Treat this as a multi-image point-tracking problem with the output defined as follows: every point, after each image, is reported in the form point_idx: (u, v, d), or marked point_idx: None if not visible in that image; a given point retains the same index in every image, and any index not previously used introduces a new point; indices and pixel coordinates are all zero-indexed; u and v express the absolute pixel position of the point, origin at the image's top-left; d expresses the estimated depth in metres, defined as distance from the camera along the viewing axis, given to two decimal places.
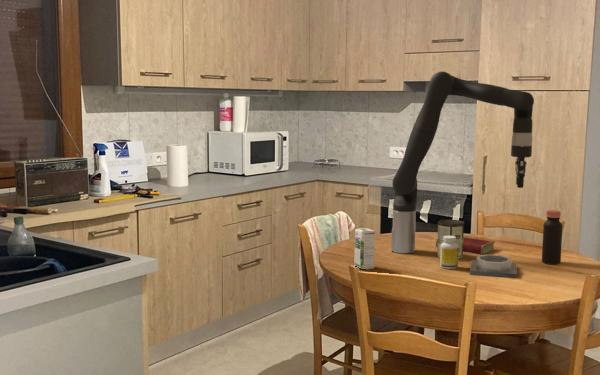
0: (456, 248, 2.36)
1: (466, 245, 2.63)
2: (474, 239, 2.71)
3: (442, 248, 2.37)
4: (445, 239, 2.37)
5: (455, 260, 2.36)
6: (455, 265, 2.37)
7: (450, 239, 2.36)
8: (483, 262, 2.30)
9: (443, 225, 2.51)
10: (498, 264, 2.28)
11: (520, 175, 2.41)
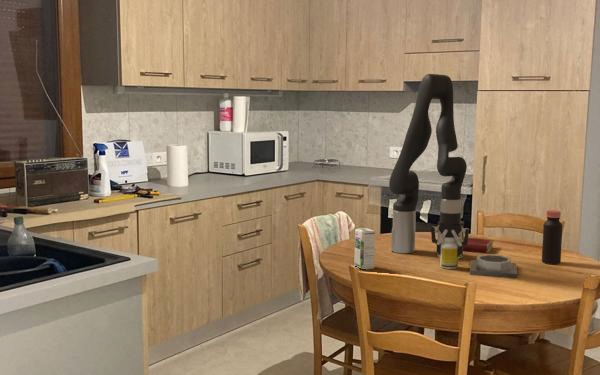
0: (456, 248, 2.36)
1: (470, 245, 2.63)
2: (473, 238, 2.73)
3: (442, 248, 2.37)
4: (445, 239, 2.37)
5: (455, 260, 2.36)
6: (455, 265, 2.37)
7: (450, 239, 2.36)
8: (483, 262, 2.30)
9: None
10: (498, 264, 2.28)
11: (466, 243, 2.36)
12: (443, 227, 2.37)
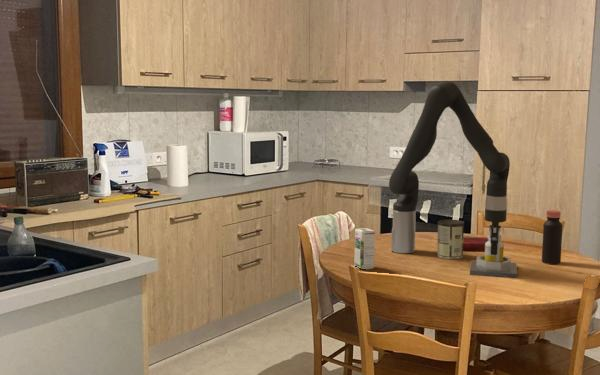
0: None
1: (476, 244, 2.65)
2: (469, 238, 2.74)
3: (500, 248, 2.31)
4: (499, 238, 2.31)
5: None
6: None
7: None
8: (483, 262, 2.30)
9: (443, 225, 2.51)
10: (498, 264, 2.28)
11: None
12: (498, 226, 2.30)
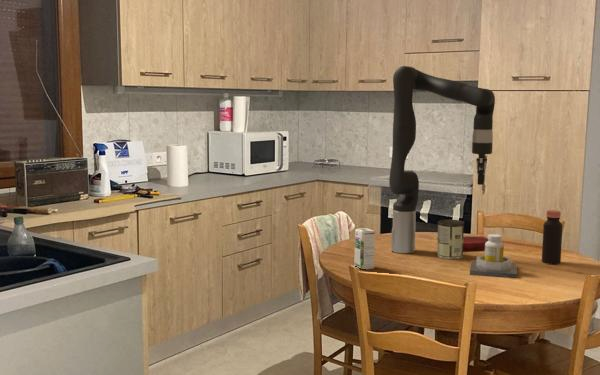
0: None
1: (479, 244, 2.66)
2: (466, 237, 2.75)
3: (500, 248, 2.31)
4: (499, 238, 2.31)
5: None
6: None
7: None
8: (483, 262, 2.30)
9: (443, 225, 2.51)
10: (498, 264, 2.28)
11: None
12: (484, 158, 2.44)
